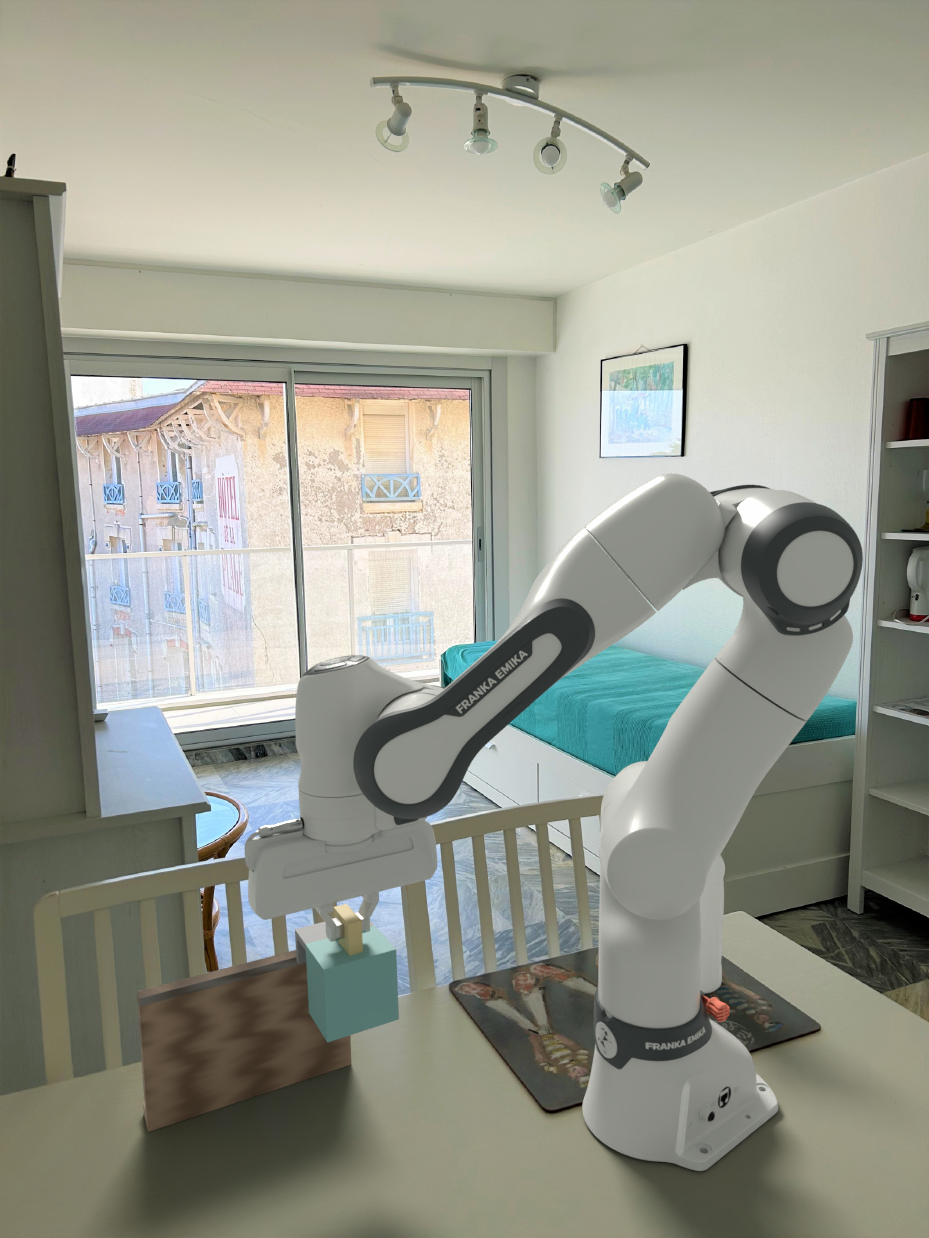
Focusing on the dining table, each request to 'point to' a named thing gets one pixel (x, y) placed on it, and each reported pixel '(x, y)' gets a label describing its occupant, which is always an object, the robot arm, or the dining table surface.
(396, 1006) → the key box
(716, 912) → the water bottle
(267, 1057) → the wall board
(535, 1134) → the dining table surface
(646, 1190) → the dining table surface
